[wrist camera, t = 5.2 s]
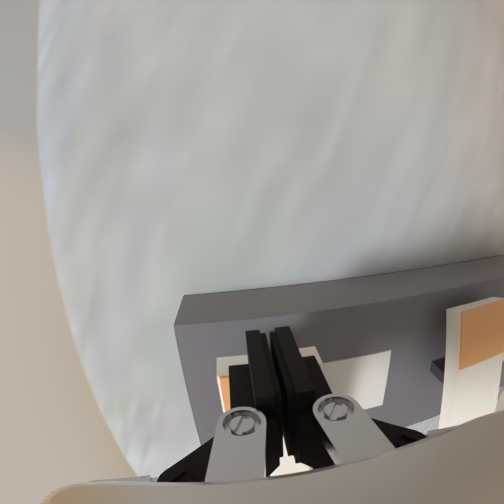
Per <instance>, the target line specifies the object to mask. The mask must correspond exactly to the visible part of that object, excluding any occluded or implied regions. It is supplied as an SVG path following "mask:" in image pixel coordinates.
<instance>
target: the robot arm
mask: <svg viewBox="0 0 504 504" xmlns="http://www.w3.org/2000/svg"><path fill="white" fill-rule="evenodd" d="M245 335H246V345H247V355H248V364H241V365H230V366H229V389H230V410H228V411H226V412H224V413H223V414H222V415H221V416H220V417H219V420H218V422H217V426H216V431H215V436H214V437H212V438H211V439H210V440H208V441H207V442H206V443H204V444H203V445H202V446H200V447H199V448H197V449H196V450H195V451H193V452H192V453H190V454H189V455H187V456H186V457H185V458H183V459H182V460H180V461H179V462H177V463H176V464H174V465H173V466H171V467H170V468H168V469H167V470H165V471H164V472H163V473H162V474H161V475H160V476H159V477H157V478H151V477H150V475H148V476H140V477H131V478H121V479H108V480H95V481H90V482H86V483H81V484H74V485H69V486H66V487H62V488H59V489H57V490H55V491H53V492H51V493H50V494H49V495H48V496H46V498H45V499H44V500H43V501H42V503H41V504H504V410H503V411H498V412H494V413H490V414H486V415H484V416H481V417H478V418H475V419H472V420H470V421H468V422H465V423H462V424H460V425H457V426H452V427H447V428H442V429H437V430H431V431H428V432H427V434H426V435H424V434H422V433H421V432H418V431H416V430H412V429H408V428H404V427H401V426H397V425H393V424H390V423H387V422H383V421H380V420H376V419H373V418H370V417H369V416H368V414H367V413H366V412H365V411H364V409H363V408H362V407H361V406H360V405H359V403H358V402H357V401H356V400H355V399H354V398H352V397H350V396H348V395H344V394H333V393H332V391H331V389H330V387H329V385H328V383H327V381H326V378H325V376H324V374H323V372H322V370H321V368H320V366H319V364H318V362H317V360H316V358H315V356H314V355H312V356H305V357H302V356H301V353H300V351H299V349H298V346H297V344H296V341H295V339H294V336H293V334H292V332H291V329H290V327H289V326H285V327H276V328H275V329H274V332H270V348H269V344H268V341H267V337H266V333H260V330H249V331H245ZM270 351H271V352H270ZM283 437H284V442H285V446H286V450H287V454H288V456H293V455H294V459H295V463H302V464H305V465H307V466H309V470H308V471H303V472H297V473H291V474H284V475H277V476H270V475H271V474H272V473H273V472H274V471H275V470H276V469H277V468H278V467H279V466H280V457H283Z"/></svg>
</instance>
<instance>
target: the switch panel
mask: <svg viewBox="0 0 504 504" xmlns="http://www.w3.org/2000/svg"><path fill="white" fill-rule="evenodd" d="M490 297H499V298H504V256H495V257H490V258H484V259H478V260H472V261H466V262H460V263H453V264H447V265H441V266H434V267H428V268H421V269H414V270H407V271H400V272H393V273H386V274H379V275H371V276H364V277H356V278H348V279H340V280H332V281H324V282H316V283H307V284H298V285H289V286H280V287H271V288H261V289H251V290H241V291H231V292H220V293H209V294H198V295H186V296H183V299H182V302H181V305H180V308H179V311H178V314H177V317H176V320H175V323H174V330H175V335H176V340H177V345H178V350H179V355H180V360H181V365H182V369H183V374H184V378H185V383H186V387H187V392H188V396H189V400H190V404H191V408H192V412H193V416H194V420H195V424H196V428H197V432H198V436H199V439H200V443H201V446H202V445H203V444H204V443H206V442H207V441H208V440H210V439H211V438H212V437H214V436H215V431H216V426H217V422H218V420H219V417H220V416H221V415H222V414H223V408H222V403H221V398H220V393H219V387H218V382H217V357H229V356H239V355H247V345H246V335H245V331H249V330H260V333H266V337H267V341H268V344H269V348H270V332H274V329H275V328H276V327H285V326H289V327H290V329H291V332H292V334H293V336H294V339H295V341H296V344H297V346H298V348H305V347H312V346H315V347H316V349H317V352H318V354H319V356H320V358H321V361H322V363H323V369H322V372H323V374H324V376H325V378H326V381H327V383H328V385H329V387H330V389H331V391H332V393H333V394H344V395H348V396H350V397H352V398H354V399H355V400H356V401H357V402H358V403H359V405H360V406H361V407H362V408H363V409H364V411H365V412H366V413H367V414H368V416H369V417H370V418H373V419H376V420H380V421H383V422H387V423H390V424H393V425H397V426H401V427H407V426H410V425H413V424H415V423H418V422H421V421H424V420H427V419H429V418H432V417H435V416H437V415H440V413H441V405H442V396H443V385H444V373H445V356H446V309H448V308H453V307H457V306H460V305H464V304H468V303H472V302H476V301H479V300H483V299H487V298H490ZM270 352H271V351H270ZM503 385H504V352H503V361H502V370H501V378H500V385H499V388H500V387H502V386H503Z"/></svg>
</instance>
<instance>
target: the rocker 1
mask: <svg viewBox="0 0 504 504" xmlns="http://www.w3.org/2000/svg"><path fill="white" fill-rule="evenodd" d="M298 349H299V351H300V353H301V356H302V357H305V356H312V355H314V356H315V358H316V360H317V362H318V364H319V366H320V368H321V370H322V369H323V363H322V361H321V358H320V356H319V354H318V352H317V349H316V347H315V346H312V347H305V348H298ZM241 364H248V355H239V356H229V357H217V382H218V387H219V393H220V398H221V403H222V408H223V413H224V412H226V411H228V410H230V389H229V366H230V365H241ZM308 470H309V466H307V465H305V464H302V463H295V459H294V455H293V456H288V454H287V450H286V446H285V442H284V437H283V457H280V466H279V467H278V468H277V469H276V470H275V471H274V472H273V473H272V474H271V475H270V476H277V475H284V474H291V473H297V472H303V471H308Z"/></svg>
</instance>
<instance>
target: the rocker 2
mask: <svg viewBox="0 0 504 504" xmlns="http://www.w3.org/2000/svg"><path fill="white" fill-rule="evenodd" d="M503 352H504V298H499V297H490V298H487V299H483V300H479V301H476V302H472V303H468V304H464V305H460V306H457V307H453V308H448V309H446V356H445V373H444V385H443V396H442V405H441V413H440V420H439V427H438V429H442V428H447V427H452V426H457V425H460V424H462V423H465V422H468V421H470V420H472V419H475V418H478V417H481V416H484V415H486V414H490V413H494V412H495V409H496V403H497V398H498V391H499V385H500V378H501V370H502V361H503Z"/></svg>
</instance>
